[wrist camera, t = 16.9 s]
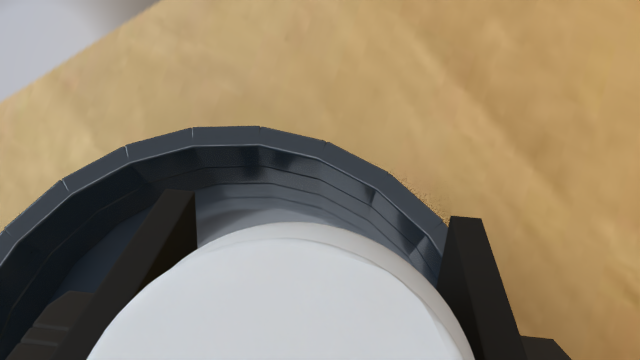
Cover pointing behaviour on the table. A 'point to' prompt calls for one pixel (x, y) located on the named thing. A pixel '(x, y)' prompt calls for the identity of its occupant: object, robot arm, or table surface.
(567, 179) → the table surface
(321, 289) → the pill bottle
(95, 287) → the glazed bowl
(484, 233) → the robot arm
